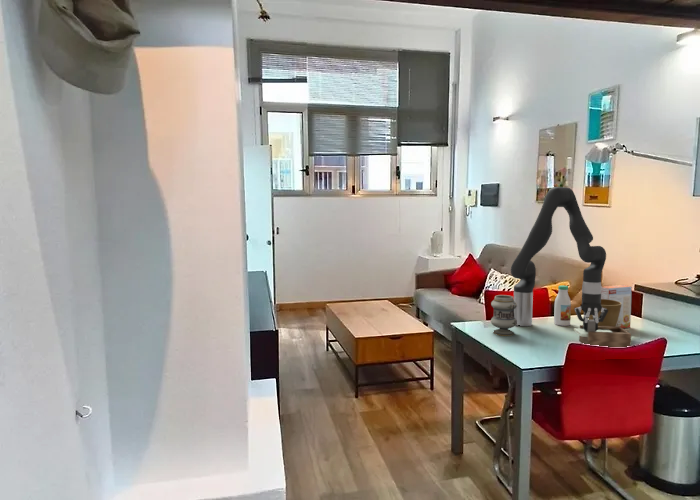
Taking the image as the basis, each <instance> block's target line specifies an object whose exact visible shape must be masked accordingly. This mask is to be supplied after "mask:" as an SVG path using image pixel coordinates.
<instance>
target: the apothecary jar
mask: <svg viewBox="0 0 700 500" xmlns="http://www.w3.org/2000/svg"><path fill="white" fill-rule="evenodd" d="M490 305H491V307H492V308H493V316H492V317H491V319H490V323H491V325H492V326H494V328H497V329H494V330H493V331H494V332H493V331H492V334H495V335H496V334H497V335H496V336H502V337H511V336H514V335H515V332H514V331H513V330H511V329H512V328H515V327H516V326H518V325H517V320H516V319H515V318H514V309H515V308H516V307H517V303H516V302H515V301H514V295H507V294H498V295H495V296H494V299H493V300H492V301H491V302H490Z"/></svg>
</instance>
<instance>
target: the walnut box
mask: <svg viewBox="0 0 700 500" xmlns="http://www.w3.org/2000/svg"><path fill="white" fill-rule="evenodd" d="M579 328H582V329H583V324H582V325H581V324H580V325H579ZM598 329H609V330H610V331H612V332H591V331H589V332H588V337H581V336H580V335H579V334H578V335H579V337H578V339H579V340H578V341H579V342H580V343H581V344H582V343H584V344H590V345H599V346H608V347H627V346H631V345H632V344H631V343H632V334H631V333H630V332H629V331H627V330H626V329H625V328H621V327H617V326H598Z"/></svg>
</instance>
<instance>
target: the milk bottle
mask: <svg viewBox="0 0 700 500" xmlns="http://www.w3.org/2000/svg"><path fill="white" fill-rule="evenodd" d="M568 292H569V286H568V285H563V284H562V285H558V293H557V295H556V297H555V299H554V306H553V307H554V311H553V312H554V314H553V315H554V316H553V323H554V325H556V326H561V327H562V326H563V327H565V326H570V325H571V316H572V315H571V313H572V309H571V308H572V302H571V298H570V296H569V293H568Z"/></svg>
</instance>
